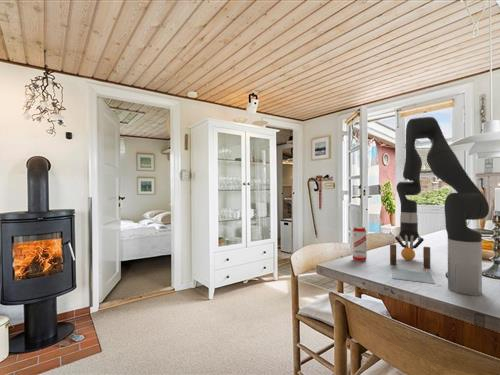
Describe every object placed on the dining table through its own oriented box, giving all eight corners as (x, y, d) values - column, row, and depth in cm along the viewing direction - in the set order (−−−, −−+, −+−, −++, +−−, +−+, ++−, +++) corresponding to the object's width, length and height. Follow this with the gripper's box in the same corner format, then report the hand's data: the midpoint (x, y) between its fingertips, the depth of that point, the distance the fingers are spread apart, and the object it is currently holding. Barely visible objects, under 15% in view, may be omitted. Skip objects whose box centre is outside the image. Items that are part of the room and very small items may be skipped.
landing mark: (435, 284, 101) (435, 283, 101) (391, 278, 107) (391, 278, 107) (430, 273, 113) (430, 273, 113) (392, 269, 120) (392, 268, 120)
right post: (430, 268, 120) (430, 248, 120) (423, 268, 121) (423, 247, 121) (430, 267, 122) (429, 246, 122) (423, 266, 123) (423, 246, 123)
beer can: (367, 262, 131) (367, 228, 131) (353, 261, 132) (353, 228, 132) (365, 259, 137) (364, 226, 137) (351, 258, 138) (351, 226, 138)
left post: (396, 265, 126) (396, 245, 126) (390, 264, 127) (389, 244, 127) (396, 263, 128) (396, 244, 128) (390, 263, 129) (389, 243, 129)
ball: (415, 260, 135) (415, 260, 130) (401, 259, 138) (401, 259, 133) (414, 248, 137) (415, 247, 132) (400, 247, 139) (400, 246, 134)
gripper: (393, 221, 138) (394, 256, 138) (425, 222, 132) (425, 259, 132) (393, 219, 145) (394, 253, 145) (423, 221, 138) (424, 256, 138)
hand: (409, 256), depth 138 cm, fingers closed
